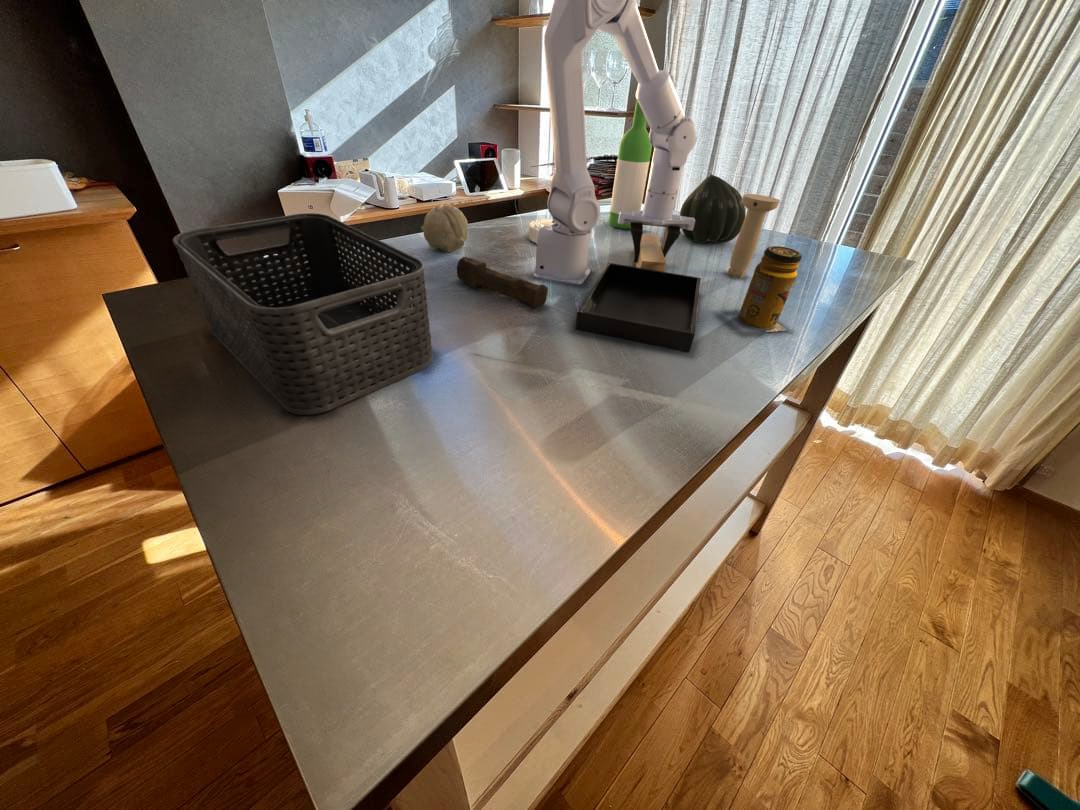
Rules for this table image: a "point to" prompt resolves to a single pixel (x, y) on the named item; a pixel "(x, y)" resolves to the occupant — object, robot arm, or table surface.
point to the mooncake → (537, 228)
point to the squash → (714, 211)
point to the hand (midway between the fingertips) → (647, 262)
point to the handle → (750, 232)
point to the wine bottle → (631, 170)
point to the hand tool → (500, 282)
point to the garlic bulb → (445, 228)
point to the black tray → (642, 307)
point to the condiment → (770, 288)
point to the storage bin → (312, 308)
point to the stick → (651, 253)
